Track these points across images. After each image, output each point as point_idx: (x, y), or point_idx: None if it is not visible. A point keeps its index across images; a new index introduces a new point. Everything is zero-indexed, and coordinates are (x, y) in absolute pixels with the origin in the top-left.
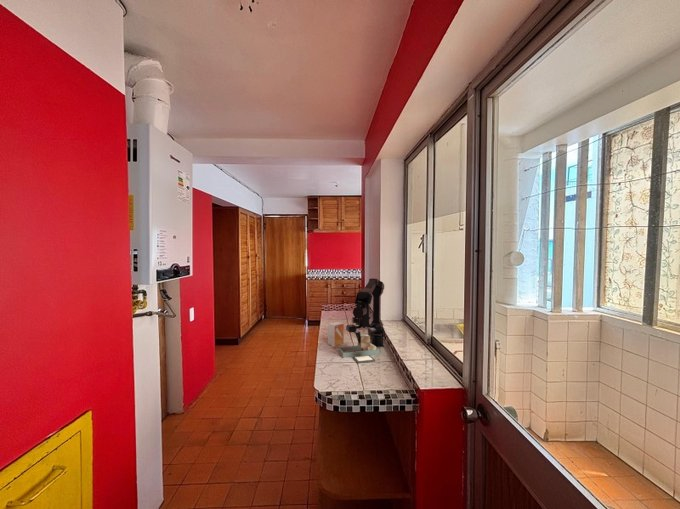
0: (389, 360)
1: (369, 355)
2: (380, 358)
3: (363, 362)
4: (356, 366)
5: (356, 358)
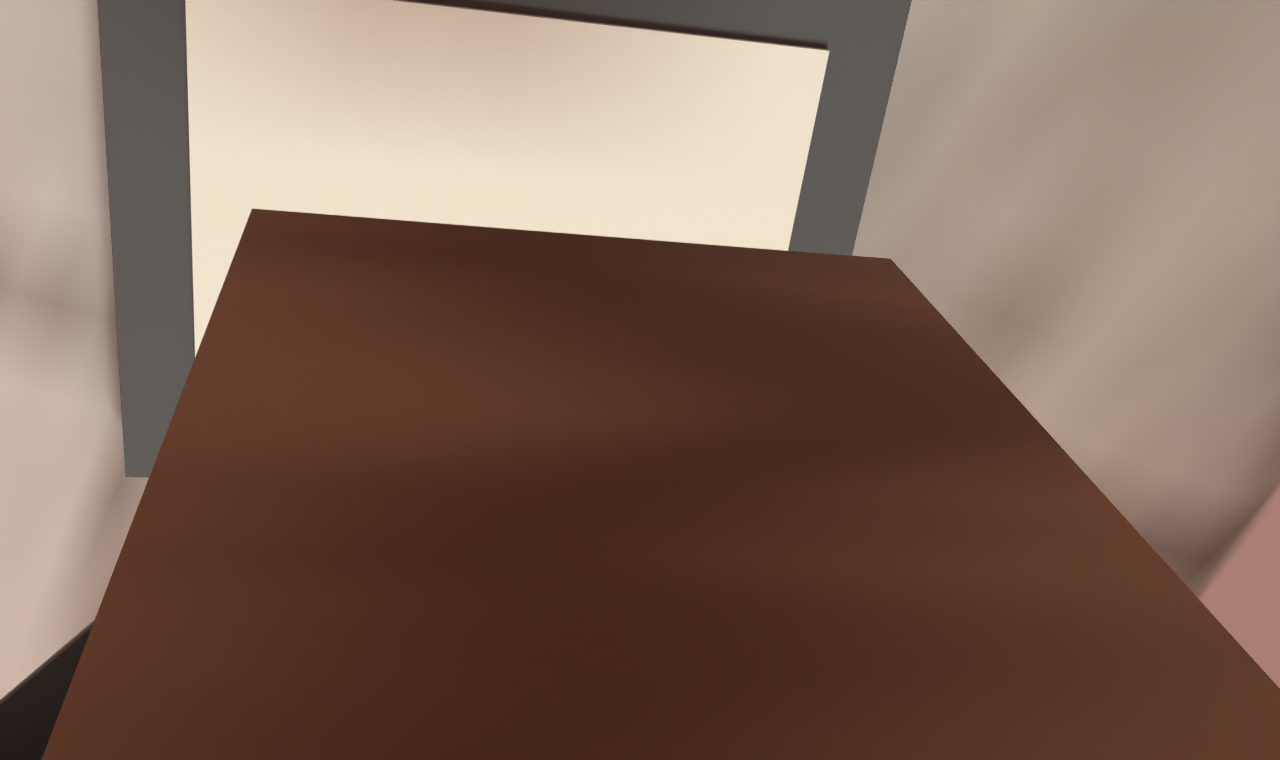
0: (1207, 500)
1: (890, 8)
2: (1107, 277)
3: None
4: (23, 636)
5: (196, 163)
